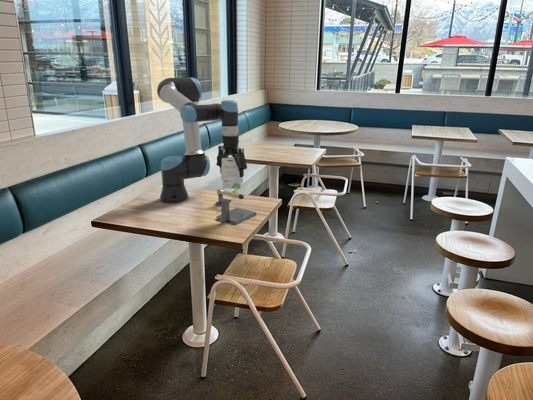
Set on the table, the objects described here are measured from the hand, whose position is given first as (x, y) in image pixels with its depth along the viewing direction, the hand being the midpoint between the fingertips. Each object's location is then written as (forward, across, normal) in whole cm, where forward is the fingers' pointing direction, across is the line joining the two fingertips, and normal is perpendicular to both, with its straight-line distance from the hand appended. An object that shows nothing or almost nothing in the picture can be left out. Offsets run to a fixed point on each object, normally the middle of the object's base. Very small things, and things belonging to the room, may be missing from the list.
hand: (232, 182), depth 192 cm
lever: (+12, -11, +11) cm, 19 cm away
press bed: (+18, +2, +1) cm, 18 cm away
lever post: (+17, -18, +10) cm, 27 cm away
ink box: (+3, 0, 0) cm, 3 cm away
